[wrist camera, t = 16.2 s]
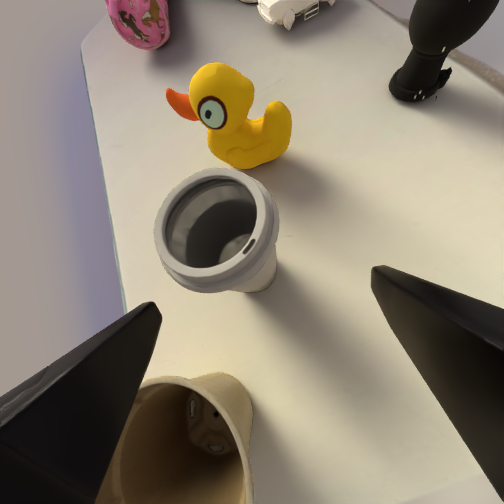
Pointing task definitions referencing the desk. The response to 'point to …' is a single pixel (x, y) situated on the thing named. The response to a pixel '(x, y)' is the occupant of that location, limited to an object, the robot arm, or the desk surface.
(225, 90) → the duckling
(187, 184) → the cup
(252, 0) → the mug
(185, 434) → the flower pot
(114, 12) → the pencil case
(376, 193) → the desk surface
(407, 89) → the gumball machine
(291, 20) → the toy car
